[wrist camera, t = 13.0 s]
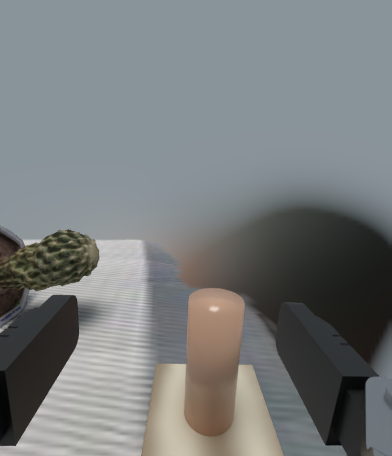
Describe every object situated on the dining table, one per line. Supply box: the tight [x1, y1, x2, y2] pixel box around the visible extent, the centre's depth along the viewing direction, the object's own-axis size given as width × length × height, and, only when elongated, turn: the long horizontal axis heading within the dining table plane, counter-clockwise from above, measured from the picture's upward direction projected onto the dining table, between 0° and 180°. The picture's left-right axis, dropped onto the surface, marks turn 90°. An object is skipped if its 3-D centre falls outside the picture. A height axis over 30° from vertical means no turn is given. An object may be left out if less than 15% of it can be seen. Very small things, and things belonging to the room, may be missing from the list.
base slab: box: [141, 364, 284, 456], centre depth 24 cm, size 12×12×3 cm
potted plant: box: [0, 226, 99, 327], centre depth 40 cm, size 18×18×30 cm
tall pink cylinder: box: [184, 288, 245, 437], centre depth 23 cm, size 5×5×12 cm
